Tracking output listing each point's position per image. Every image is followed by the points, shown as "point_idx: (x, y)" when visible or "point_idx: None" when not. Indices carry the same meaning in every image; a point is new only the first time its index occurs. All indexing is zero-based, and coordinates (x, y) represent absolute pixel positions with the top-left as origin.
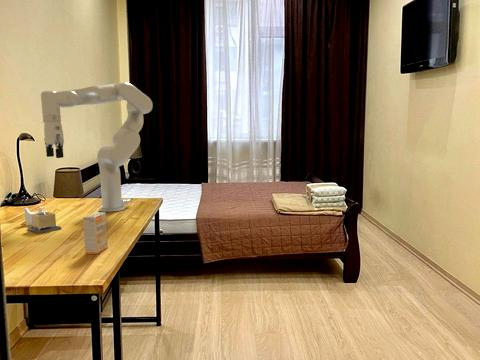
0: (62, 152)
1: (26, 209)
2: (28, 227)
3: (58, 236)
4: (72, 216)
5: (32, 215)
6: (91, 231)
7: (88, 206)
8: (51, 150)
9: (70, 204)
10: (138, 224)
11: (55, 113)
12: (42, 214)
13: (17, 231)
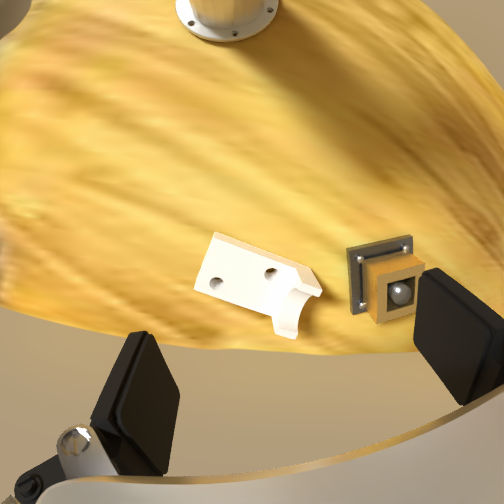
0: (470, 302)
1: (297, 332)
2: (354, 312)
3: (459, 258)
4: (251, 150)
5: (382, 320)
6: None
7: (100, 64)
8: (145, 412)
9: (29, 123)
10: (474, 63)
11: None
12: (408, 297)
13: (346, 332)
